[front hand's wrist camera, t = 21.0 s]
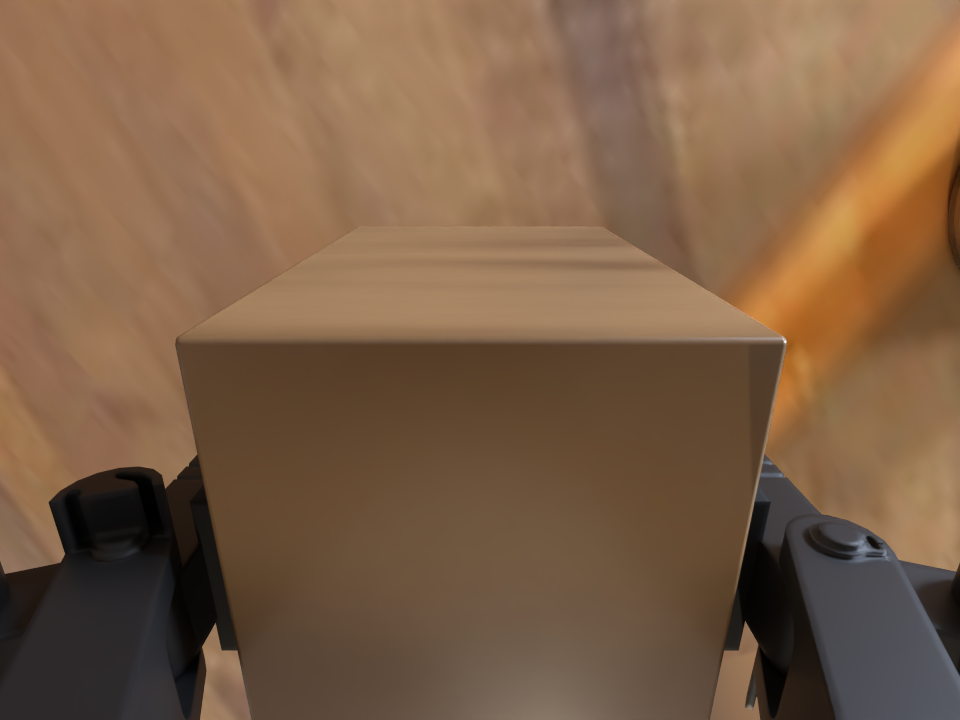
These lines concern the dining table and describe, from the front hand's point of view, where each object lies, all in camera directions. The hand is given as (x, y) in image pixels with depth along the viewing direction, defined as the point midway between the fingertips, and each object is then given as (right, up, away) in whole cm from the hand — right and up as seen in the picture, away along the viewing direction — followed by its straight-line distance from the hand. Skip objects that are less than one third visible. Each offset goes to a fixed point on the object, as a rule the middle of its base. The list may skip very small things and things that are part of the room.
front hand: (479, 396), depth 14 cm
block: (0, +1, +2) cm, 2 cm away
